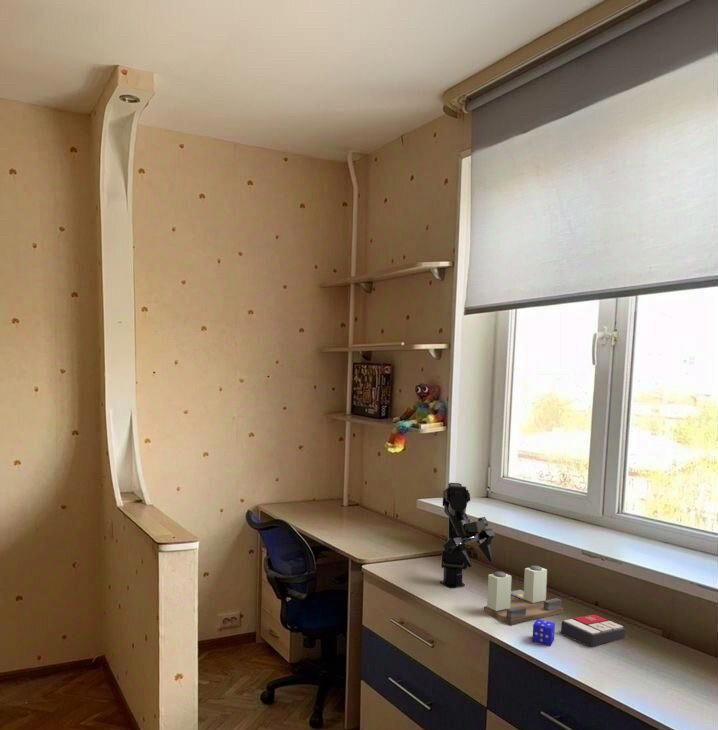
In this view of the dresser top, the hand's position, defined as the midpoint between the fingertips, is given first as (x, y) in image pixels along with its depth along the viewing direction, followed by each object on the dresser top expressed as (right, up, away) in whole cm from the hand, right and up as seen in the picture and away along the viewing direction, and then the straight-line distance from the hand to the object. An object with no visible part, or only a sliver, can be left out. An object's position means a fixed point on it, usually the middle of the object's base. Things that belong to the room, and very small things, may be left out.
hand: (481, 564), depth 207 cm
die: (+12, -13, -28) cm, 33 cm away
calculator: (+28, -14, -22) cm, 39 cm away
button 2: (+17, -12, 0) cm, 21 cm away
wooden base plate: (+12, -13, -7) cm, 19 cm away
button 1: (+4, -11, -8) cm, 14 cm away
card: (+16, -13, +8) cm, 22 cm away
